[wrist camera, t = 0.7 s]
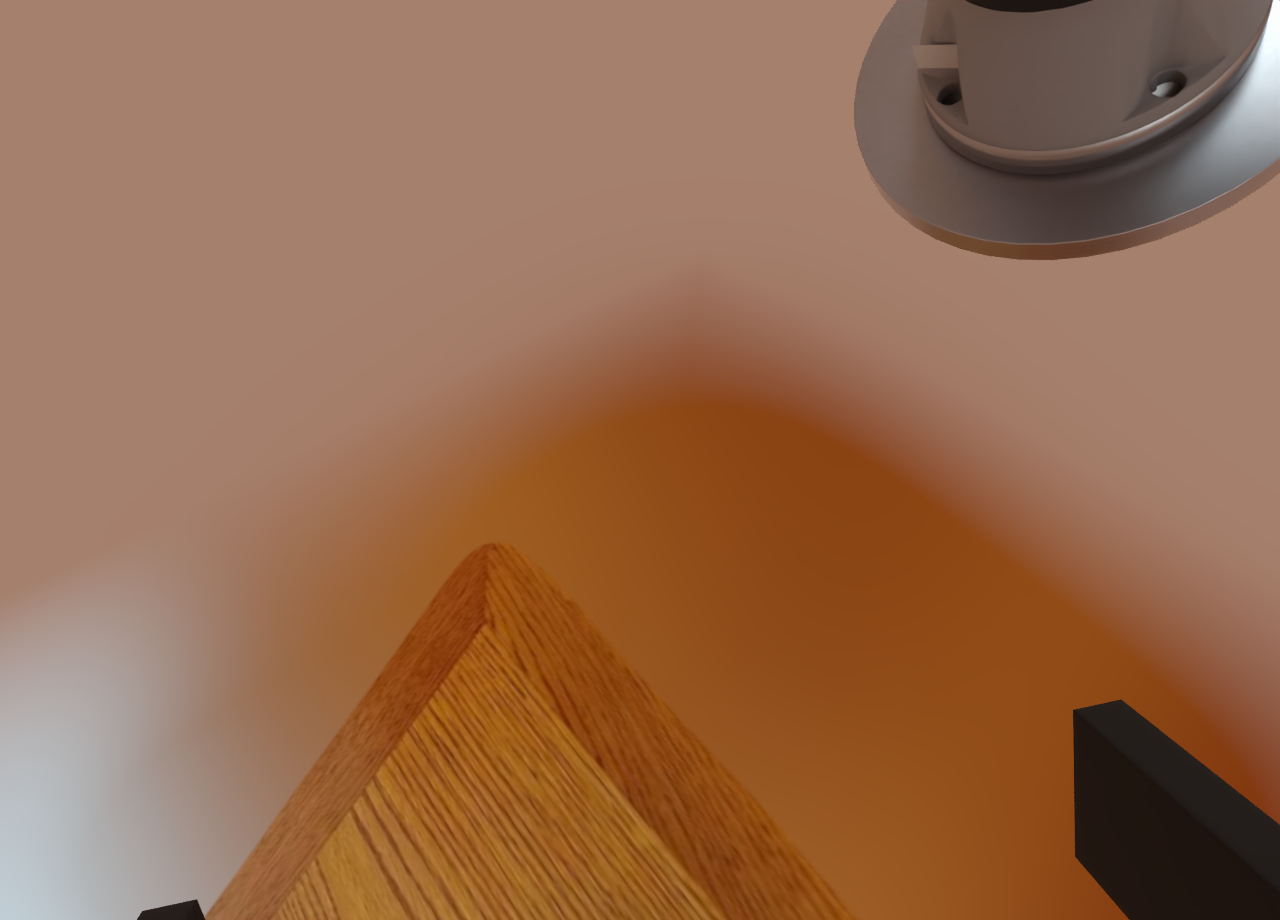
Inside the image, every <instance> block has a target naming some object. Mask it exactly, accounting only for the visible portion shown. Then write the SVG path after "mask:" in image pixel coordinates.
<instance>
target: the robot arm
mask: <svg viewBox="0 0 1280 920" xmlns="http://www.w3.org/2000/svg"><path fill="white" fill-rule="evenodd" d="M1272 3H1273V0H928V2H927V7H926V12H925V18H924V23H923V29H922V34H921V39H920V44H919V45H912V48H913V52H914V56H915V60H916V64H917V72H918V80H919V85H920V89H921V93H922V97H923V101H924V105H925V109H926V112H927V114H928V117H929V120H930V121H931V123H932V125H933V127H934V129H935V130H936V131H937V133H938V134H939V136H940V137H941V138H942V139H943V140H944V141H945V142H946V143H947V144H948V145H949V146H950V147H951V148H953V149H954V150H955V151H956V152H958V153H959V154H961V155H963V156H964V157H966V158H968V159H970V160H972V161H974V162H976V163H978V164H981V165H984V166H987V167H990V168H993V169H997V170H1001V171H1006V172H1012V173H1019V174H1035V175H1044V174H1061V173H1071V172H1077V171H1083V170H1088V169H1093V168H1097V167H1101V166H1105V165H1109V164H1112V163H1115V162H1118V161H1121V160H1124V159H1127V158H1129V157H1132V156H1134V155H1137V154H1139V153H1142V152H1144V151H1146V150H1148V149H1150V148H1153V147H1155V146H1157V145H1159V144H1161V143H1163V142H1164V141H1166V140H1168V139H1170V138H1171V137H1173V136H1175V135H1177V134H1178V133H1180V132H1181V131H1183V130H1184V129H1186V128H1187V127H1189V126H1190V125H1192V124H1193V123H1195V122H1196V121H1197V120H1199V119H1200V118H1201V117H1202V116H1204V115H1205V114H1206V113H1208V112H1209V111H1210V110H1211V109H1212V108H1213V107H1214V106H1215V105H1217V104H1218V103H1219V102H1220V101H1221V100H1222V99H1223V98H1224V97H1225V96H1226V95H1227V94H1228V93H1229V91H1230V90H1231V89H1232V88H1233V87H1234V86H1235V85H1236V83H1237V82H1238V81H1239V80H1240V78H1241V77H1242V76H1243V74H1244V73H1245V72H1246V70H1247V69H1248V67H1249V65H1250V64H1251V62H1252V61H1253V59H1254V57H1255V55H1256V53H1257V51H1258V49H1259V47H1260V45H1261V42H1262V39H1263V36H1264V33H1265V30H1266V26H1267V23H1268V19H1269V15H1270V11H1271V7H1272ZM1073 726H1074V728H1073V729H1074V795H1075V796H1074V799H1075V800H1074V802H1075V857H1076V858H1077V859H1078V860H1079V862H1080V863H1081V864H1082V865H1083V866H1084V867H1085V868H1086V870H1087V871H1088V872H1089V873H1090V874H1091V875H1092V877H1093V878H1094V879H1095V880H1096V881H1097V882H1098V884H1099V885H1100V886H1101V887H1102V888H1103V889H1104V891H1105V892H1106V893H1107V894H1108V895H1109V896H1110V898H1111V899H1112V900H1113V901H1114V902H1115V903H1116V905H1117V906H1118V907H1119V908H1120V909H1121V910H1122V912H1123V913H1124V914H1125V915H1126V916H1127V917H1128V919H1130V920H1280V825H1279V824H1278V823H1277V822H1275V821H1274V820H1273V819H1272V818H1270V817H1269V816H1268V815H1267V814H1265V813H1264V812H1263V811H1261V810H1260V809H1259V808H1257V807H1256V806H1255V805H1254V804H1253V803H1251V802H1250V801H1249V800H1248V799H1246V798H1245V797H1244V796H1243V795H1241V794H1240V793H1238V792H1237V791H1236V790H1235V789H1233V788H1232V787H1231V786H1230V785H1229V784H1227V783H1226V782H1225V781H1224V780H1222V779H1221V778H1220V777H1218V776H1217V775H1216V774H1215V773H1213V772H1212V771H1211V770H1210V769H1208V768H1207V767H1206V766H1205V765H1203V764H1202V763H1201V762H1199V761H1198V760H1197V759H1195V758H1194V757H1193V756H1192V755H1191V754H1189V753H1188V752H1187V751H1186V750H1184V749H1183V748H1182V747H1180V746H1179V745H1178V744H1177V743H1175V742H1174V741H1173V740H1172V739H1170V738H1169V737H1168V736H1167V735H1165V734H1164V733H1163V732H1161V731H1160V730H1159V729H1158V728H1156V727H1155V726H1154V725H1153V724H1151V723H1150V722H1149V721H1148V720H1146V719H1145V718H1144V717H1143V716H1141V715H1140V714H1139V713H1137V712H1136V711H1135V710H1133V709H1132V708H1131V707H1130V706H1129V705H1127V704H1126V703H1125V702H1123V701H1122V700H1117V701H1113V702H1108V703H1104V704H1099V705H1094V706H1089V707H1085V708H1080V709H1076V710H1073ZM137 920H205V918H204V915H203V913H202V911H201V908H200V906H199V904H198V901H197V900H192V901H187V902H183V903H178V904H174V905H169V906H164V907H160V908H155V909H150V910H146V911H142V913H141V914H140V916H139V917H138V919H137Z"/></svg>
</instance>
